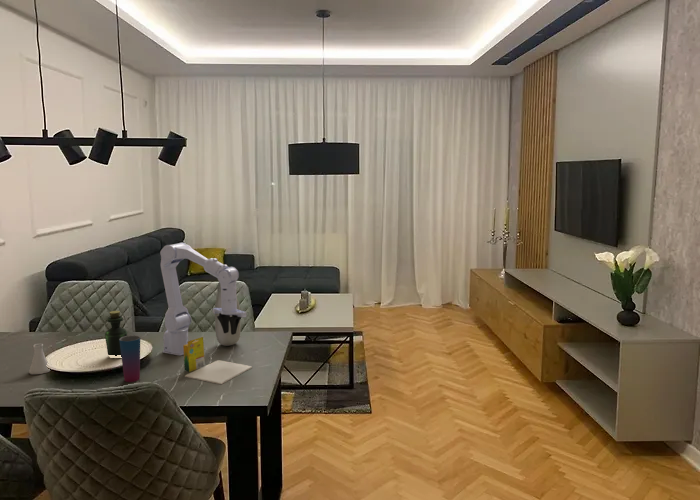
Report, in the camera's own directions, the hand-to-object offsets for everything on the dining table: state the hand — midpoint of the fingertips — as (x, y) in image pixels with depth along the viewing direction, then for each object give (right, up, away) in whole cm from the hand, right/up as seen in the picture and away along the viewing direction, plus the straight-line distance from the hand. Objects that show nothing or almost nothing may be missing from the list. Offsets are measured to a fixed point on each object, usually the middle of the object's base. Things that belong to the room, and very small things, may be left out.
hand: (229, 333), depth 211 cm
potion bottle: (-45, -10, +4) cm, 47 cm away
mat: (-1, -12, -12) cm, 17 cm away
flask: (-66, -12, -12) cm, 69 cm away
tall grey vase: (-5, -8, +19) cm, 21 cm away
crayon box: (-11, -12, -9) cm, 18 cm away
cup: (-30, -13, -20) cm, 38 cm away
